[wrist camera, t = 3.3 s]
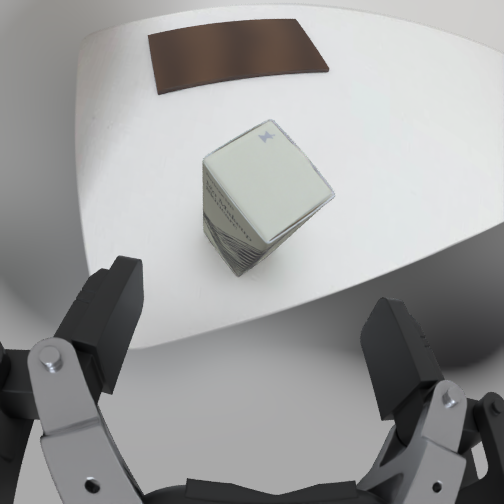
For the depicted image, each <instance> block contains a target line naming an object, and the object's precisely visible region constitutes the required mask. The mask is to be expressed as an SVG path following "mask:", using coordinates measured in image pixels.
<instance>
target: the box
mask: <svg viewBox="0 0 504 504" xmlns="http://www.w3.org/2000/svg"><path fill="white" fill-rule="evenodd" d="M334 197H335V193H334V191H333V189H332V188H331V186H330V185H329V184H328V182H327V181H326V180H325V179H324V177H323V176H322V175H321V174H320V172H319V171H318V170H317V168H316V167H315V166H314V165H313V164H312V162H311V161H310V160H309V159H308V157H307V156H306V155H305V154H304V153H303V152H302V151H301V149H300V148H299V147H298V146H297V145H296V144H295V143H294V142H293V141H292V139H291V138H290V137H289V136H288V135H287V134H286V133H285V132H284V131H283V130H282V129H281V128H280V126H279V125H278V124H277V123H276V122H275V121H274V120H272V119H269V120H267V121H264V122H263V123H261V124H259V125H257V126H255V127H253V128H252V129H250V130H248V131H246V132H244V133H242V134H241V135H239V136H237V137H236V138H234V139H232V140H230V141H229V142H227V143H226V144H224V145H222V146H221V147H219V148H218V149H216V150H215V151H213V152H211V153H210V154H208V155H207V156H206V157H204V158H203V230H204V233H205V234H206V235H207V237H208V238H209V240H210V241H211V243H212V244H213V246H214V247H215V248H216V250H217V251H218V253H219V254H220V255H221V257H222V258H223V259H224V261H225V262H226V263H227V264H228V266H229V267H230V268H231V270H232V271H233V272H234V273H235V275H236V276H238V277H239V276H241V275H242V274H244V273H245V272H247V271H248V270H249V269H251V268H252V267H254V266H255V265H256V264H258V263H259V262H260V261H262V260H263V259H264V258H265V257H267V256H268V255H269V254H270V253H272V252H273V251H274V250H275V249H276V248H277V247H279V246H280V245H281V244H282V243H283V242H284V241H285V240H286V239H287V238H288V237H290V236H291V235H292V234H293V233H294V232H295V231H296V230H297V229H298V228H300V227H301V226H302V225H303V224H304V223H305V222H306V221H307V220H309V219H310V218H311V217H312V216H313V215H314V214H315V213H316V212H317V211H318V210H320V209H321V208H322V207H323V206H324V205H326V204H327V203H328V202H329V201H331V200H332V199H333V198H334Z"/></svg>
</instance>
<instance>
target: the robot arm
mask: <svg viewBox="0 0 504 504" xmlns="http://www.w3.org/2000/svg"><path fill="white" fill-rule="evenodd" d="M143 301H144V291H143V266H142V260H141V259H136V258H130V257H125V256H118V257H117V258H116V260H115V261H114V263H113V264H112V266H111V268H110V269H109V270H108V269H103V268H101V269H100V270H98V271H97V272H96V273H94V274H93V275H91V276H90V277H89V278H88V280H87V281H86V283H85V285H84V286H83V288H82V291H80V293H79V294H78V296H77V297H76V300H75V301H74V302H73V304H72V306H71V307H70V309H69V311H68V312H67V314H66V316H65V317H64V319H63V321H62V323H61V324H60V326H59V328H58V330H57V331H56V333H55V335H54V337H52V338H47V339H43V340H41V341H39V342H38V343H37V344H35V345H34V346H33V348H32V349H31V350H9V349H4V347H3V346H2V344H1V342H0V504H13V502H14V496H15V492H16V487H17V481H18V477H19V473H20V469H21V464H22V460H23V456H24V452H25V449H26V445H27V442H28V438H29V435H30V431H31V428H32V425H33V422H34V419H38V420H40V421H41V425H42V429H43V436H41V437H40V442H41V447H42V451H43V454H44V457H45V460H46V463H47V465H48V468H49V471H50V473H51V476H52V479H53V481H54V483H55V486H56V488H57V491H58V493H59V495H60V498H61V500H62V502H63V504H504V400H503V398H502V397H501V396H500V395H498V394H496V393H494V392H488V393H487V394H486V395H485V396H484V397H483V398H482V399H480V400H479V401H478V400H473V399H469V398H466V396H465V393H464V392H463V390H462V389H461V388H460V387H459V386H458V385H457V384H456V383H454V382H452V381H449V380H445V379H444V377H443V375H442V372H441V370H440V368H439V365H438V363H437V361H436V358H435V356H434V354H433V352H432V350H431V348H429V343H428V341H427V339H425V335H424V332H423V330H422V329H421V326H420V325H419V323H418V322H417V321H416V320H415V319H414V318H413V317H412V316H411V315H410V314H409V312H408V310H407V308H406V306H405V304H404V302H403V301H402V300H400V299H393V298H385V297H382V298H380V299H379V300H378V302H377V304H376V305H375V307H374V309H373V311H372V312H371V314H370V316H369V318H368V319H367V321H366V323H365V325H364V326H363V328H362V331H361V337H360V339H361V341H360V342H361V346H362V350H363V353H364V356H365V360H366V363H367V367H368V370H369V374H370V378H371V381H372V385H373V389H374V392H375V396H376V400H377V404H378V408H379V412H380V416H381V420H382V421H383V420H394V421H395V425H394V426H393V427H392V428H391V430H390V431H389V434H388V436H387V438H386V440H385V442H384V444H383V447H382V449H381V451H380V453H379V454H378V457H377V458H376V460H375V462H374V464H373V466H372V468H371V469H370V471H369V472H368V474H366V476H365V477H363V478H362V480H361V481H360V482H359V483H358V484H357V485H356V482H355V481H347V482H338V483H326V484H318V485H314V486H311V487H307V488H304V489H301V490H297V491H293V492H289V493H285V494H281V495H272V494H268V493H264V492H260V491H256V490H252V489H248V488H245V487H242V486H238V485H235V484H232V483H220V482H211V481H203V480H195V479H188V478H187V483H186V485H178V486H171V487H166V488H163V489H159V490H155V491H153V492H151V493H148V494H146V495H144V494H143V492H142V491H141V489H140V487H139V486H138V484H137V482H136V481H135V479H134V477H133V475H132V474H131V472H130V470H129V468H128V466H127V465H126V463H125V461H124V459H123V458H122V456H121V454H120V452H119V450H118V448H117V446H116V444H115V442H114V440H113V438H112V436H111V433H110V431H109V429H108V427H107V425H106V423H105V420H104V418H103V416H102V413H101V411H100V409H99V406H98V404H97V403H98V400H99V397H100V394H101V392H104V393H108V394H111V395H112V394H113V391H114V388H115V385H116V382H117V379H118V375H119V373H120V370H121V367H122V364H123V361H124V358H125V355H126V353H127V350H128V347H129V344H130V342H131V339H132V336H133V333H134V331H135V328H136V325H137V323H138V320H139V318H140V315H141V312H142V308H143ZM481 441H482V444H483V447H484V450H485V454H486V458H487V462H488V471H487V474H486V475H485V476H484V477H483V478H482V479H480V480H479V479H478V476H477V471H476V467H475V463H474V459H473V455H472V451H471V448H472V447H474V446H475V445H477V444H478V443H479V442H481Z"/></svg>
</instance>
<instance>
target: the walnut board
mask: <svg viewBox="0 0 504 504" xmlns="http://www.w3.org/2000/svg"><path fill="white" fill-rule="evenodd" d="M148 39H149V45H150V51H151V57H152V63H153V69H154V75H155V80H156V86H157V91H158V94H163V93H167V92H171V91H175V90H180V89H185V88H189V87H194V86H199V85H205V84H210V83H216V82H222V81H228V80H235V79H242V78H250V77H259V76H268V75H279V74H292V73H309V72H328V71H329V67H328V66H327V64H326V63H325V61H324V59H323V58H322V56H321V55H320V53H319V52H318V50H317V49H316V47H315V46H314V44H313V43H312V41H311V40H310V38H309V37H308V35H307V34H306V33H305V31H304V30H303V28H302V27H301V26H300V24H299V23H298V21H297V20H296V19H260V20H243V21H232V22H222V23H213V24H206V25H199V26H192V27H186V28H180V29H175V30H170V31H165V32H160V33H156V34H151V35H148Z"/></svg>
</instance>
